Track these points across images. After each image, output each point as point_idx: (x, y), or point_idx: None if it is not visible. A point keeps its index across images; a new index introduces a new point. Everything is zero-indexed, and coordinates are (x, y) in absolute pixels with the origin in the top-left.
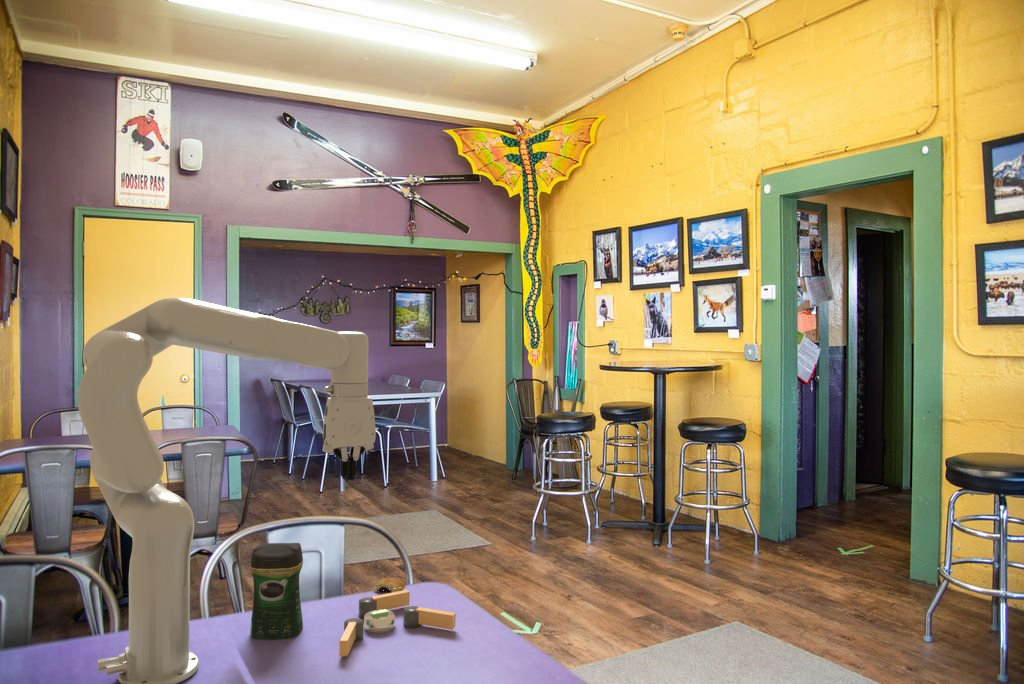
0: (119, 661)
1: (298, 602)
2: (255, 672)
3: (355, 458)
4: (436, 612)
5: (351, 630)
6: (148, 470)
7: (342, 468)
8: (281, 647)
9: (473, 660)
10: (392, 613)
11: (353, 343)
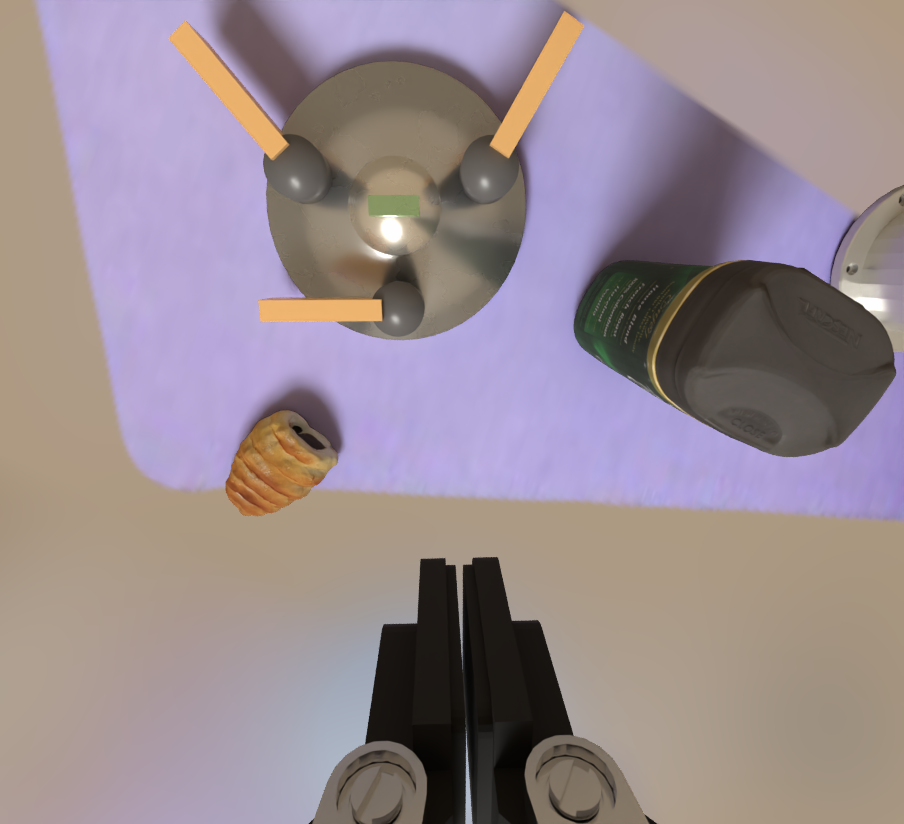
0: None
1: (628, 294)
2: (741, 154)
3: (385, 782)
4: (229, 80)
5: (525, 86)
6: None
7: (555, 679)
8: None
9: None
10: (353, 202)
11: None
